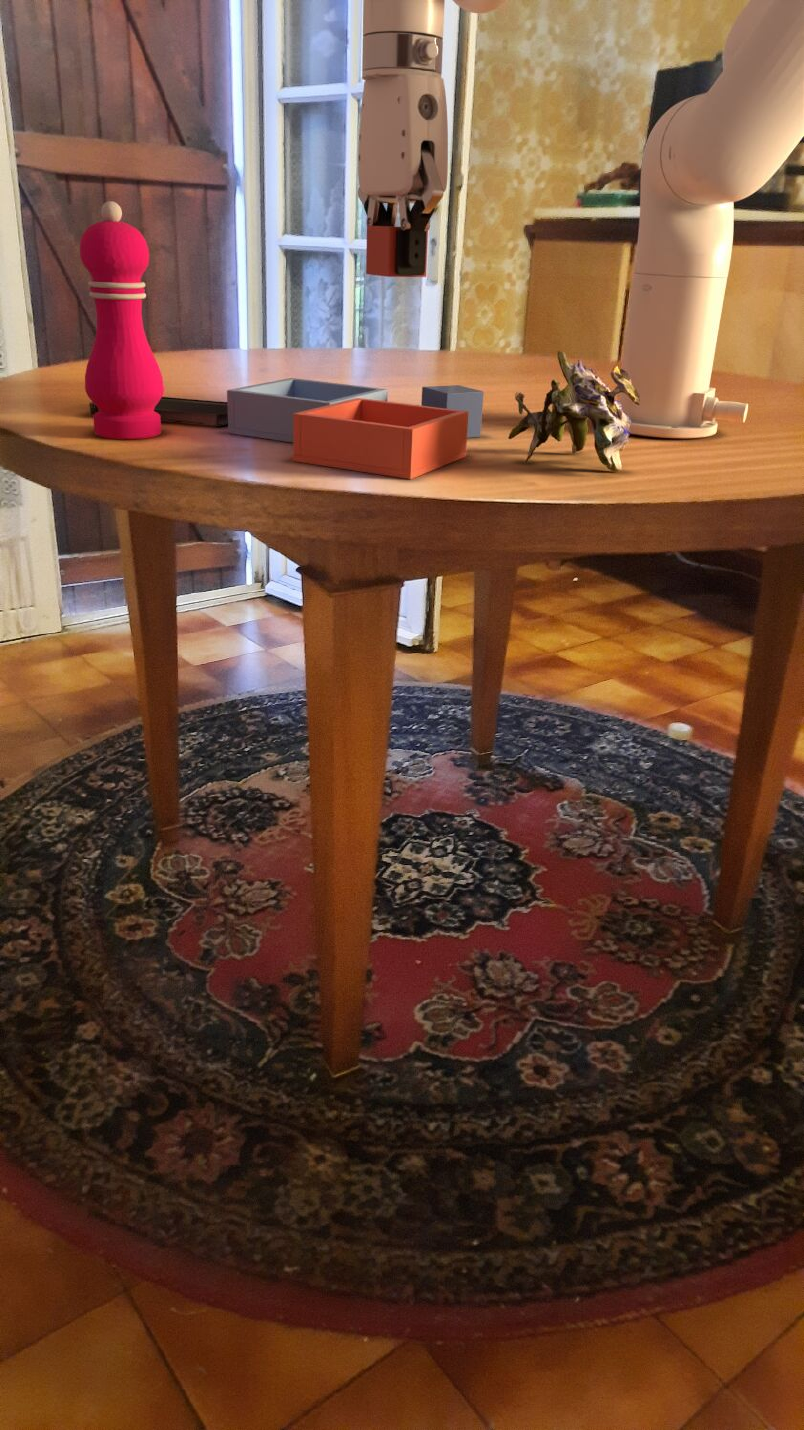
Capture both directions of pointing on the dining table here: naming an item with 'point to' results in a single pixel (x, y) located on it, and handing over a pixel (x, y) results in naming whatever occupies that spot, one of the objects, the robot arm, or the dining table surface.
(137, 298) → the pepper mill
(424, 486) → the dining table surface
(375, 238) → the red block
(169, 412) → the phone
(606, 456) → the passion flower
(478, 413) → the blue block
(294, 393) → the blue bin
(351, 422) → the red bin
